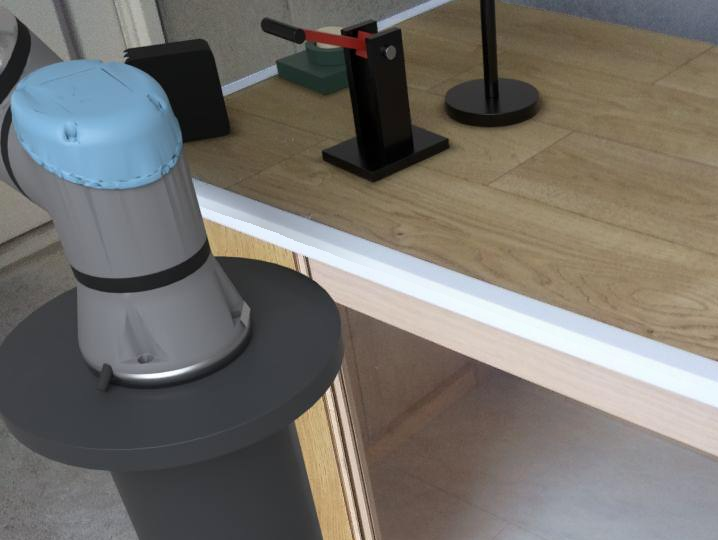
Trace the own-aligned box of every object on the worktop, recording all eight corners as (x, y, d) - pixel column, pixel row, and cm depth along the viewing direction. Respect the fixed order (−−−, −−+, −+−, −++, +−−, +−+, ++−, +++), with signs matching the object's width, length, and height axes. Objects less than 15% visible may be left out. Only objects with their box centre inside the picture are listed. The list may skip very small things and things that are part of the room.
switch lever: (292, 48, 98) (295, 22, 97) (259, 36, 100) (261, 10, 99) (397, 65, 108) (401, 41, 107) (364, 54, 111) (367, 31, 110)
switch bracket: (373, 182, 111) (355, 53, 101) (322, 160, 115) (300, 34, 106) (449, 148, 117) (439, 23, 108) (398, 128, 122) (384, 6, 112)
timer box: (325, 95, 130) (319, 63, 127) (278, 77, 135) (272, 46, 132) (393, 69, 136) (389, 38, 133) (346, 53, 141) (341, 22, 138)
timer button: (329, 52, 131) (327, 38, 129) (310, 46, 133) (308, 32, 131) (352, 44, 133) (350, 30, 132) (333, 38, 135) (331, 24, 133)
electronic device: (232, 134, 121) (212, 48, 114) (149, 148, 119) (122, 61, 112) (227, 122, 124) (207, 37, 117) (145, 135, 121) (119, 49, 114)
